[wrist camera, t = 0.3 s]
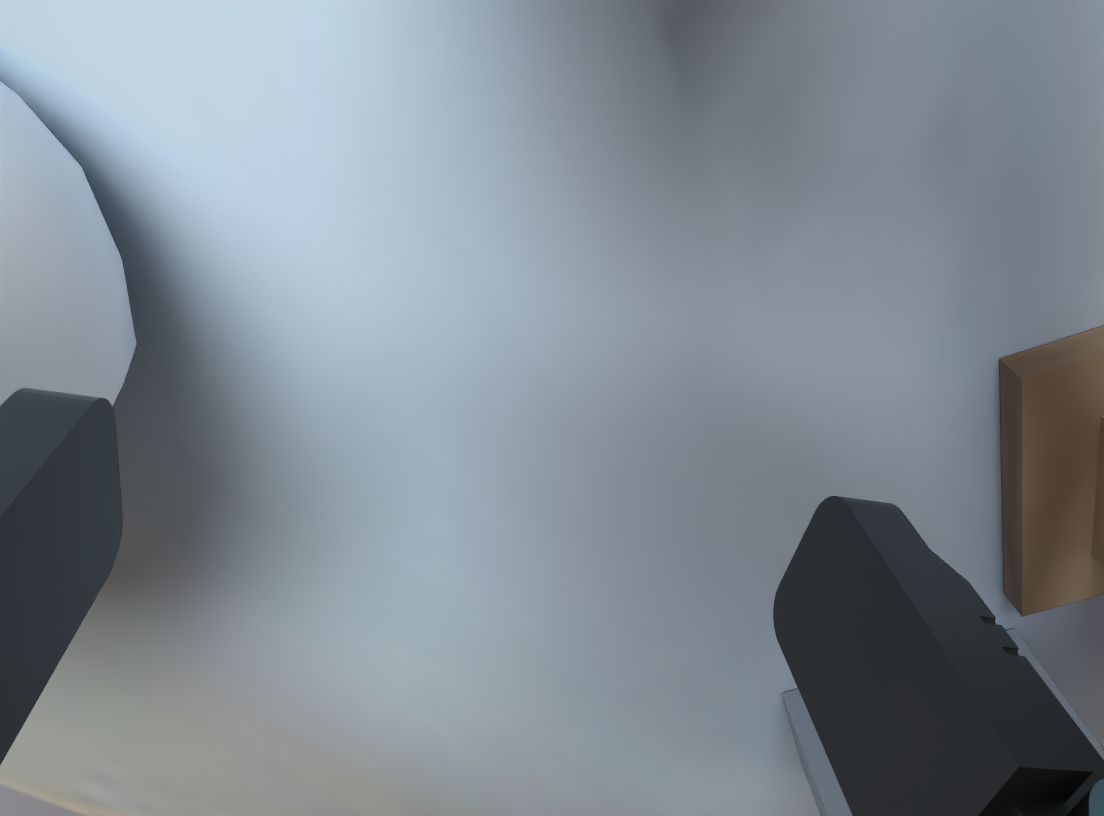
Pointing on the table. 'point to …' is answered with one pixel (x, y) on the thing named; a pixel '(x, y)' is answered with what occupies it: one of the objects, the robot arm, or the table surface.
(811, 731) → the slate plinth
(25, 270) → the pot
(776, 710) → the table surface
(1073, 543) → the walnut pedestal
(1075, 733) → the robot arm
